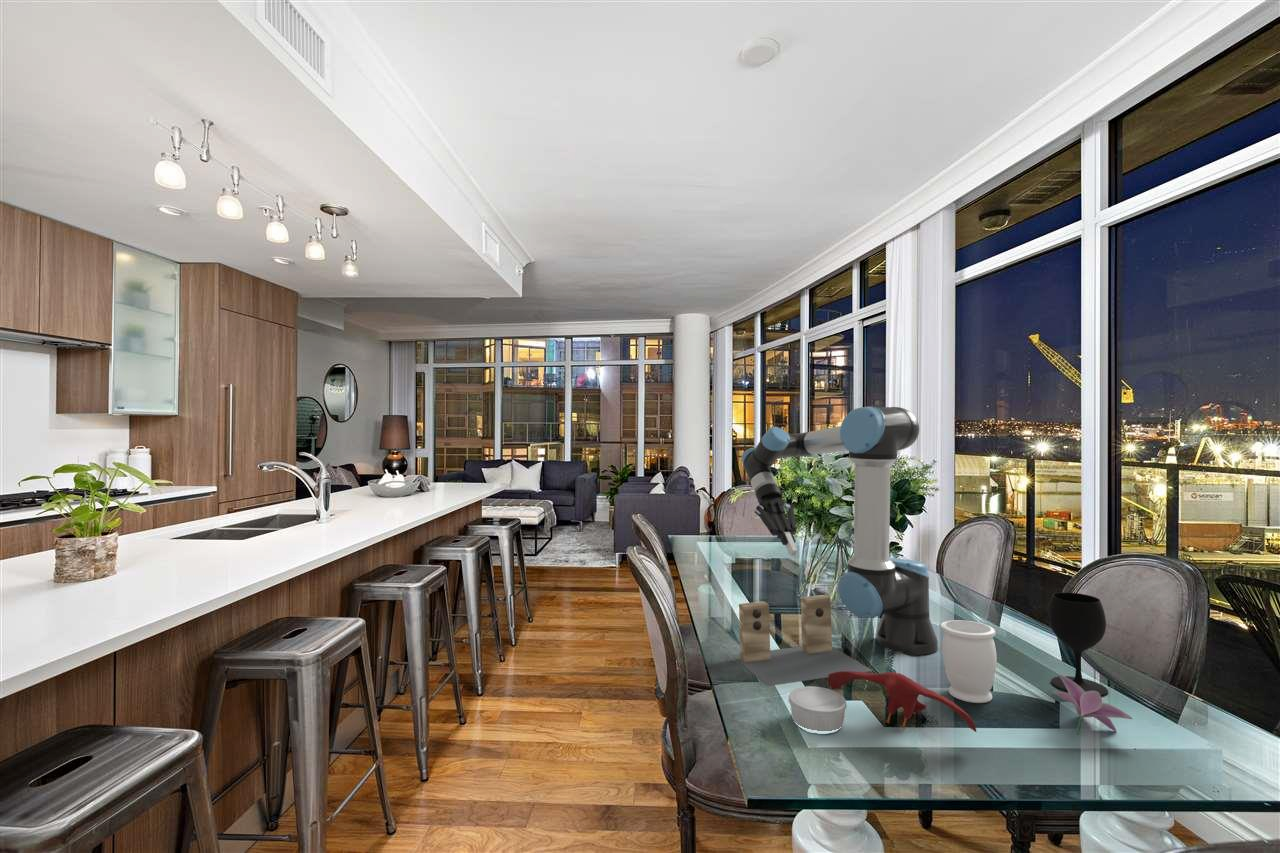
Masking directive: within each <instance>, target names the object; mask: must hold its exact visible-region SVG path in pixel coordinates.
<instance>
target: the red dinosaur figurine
mask: <svg viewBox="0 0 1280 853" xmlns="http://www.w3.org/2000/svg"><path fill="white" fill-rule="evenodd" d="M855 680H865V681H870V682H872V683H875V684H878V685H881V686H883V687H884V689H885V691H886V692H885V693H886V695H887V696H888V704H887V712H888V717H887V720H883V721H884V722H886V723H887V724H888V725H890V724H891V722H890V720H891V716H892V715H894V714H895V713H896V712H897V710H898V709H900V708H902V709H903V717H904V720H903V723H902V725H900V727H901V728H902V729H906V723H907V720H909V719H911V717H912V714H917V715H921V713H920V712H923V710H925V711H926V709H927V708H928V707H927V705H925V704H923V703H922V702H920V701H919V700H918V697H919V696H922V697H924V698H928V699H931V700H933V701H937V702H939V703H941V704H943V705H945V706H946V707H948V708H950V709H951V711H954V712H955V713H956V714H957V715H958V716H960V717H961V719H962V720H963V721H965V722H966V724H967V726H968V728H969V729H971V730H972V731H973V732H975V733H977V731H978V730H977V727H976V725H975V722H974V721H973V719H972V718H971V716H969V714H968V713H967V712H966V711H965V710H963V709H962V708H961V707H960V706H959V705H957V704H956V703H955V702H953V701H951V700H950V699H948V698H947V697H946V696H943V695H942V694H939V693H937V692H935V691H934V690H932V689H929V688H928V687H927V688H926V687H923V685H921V684H920V683H917V682H916V681H914V680H913V679H911V678H910V677H907V676H906V675H904V674H903V673H900V672H894V671H893V672H891V671H889V672H882V673H880V672H879V673H875V672H874V673H873V672H872V673H870V672H857V671H856V672H854V671H839V672H834V673H831V674H829V675H828V677H827V682H828V684H829V687H830V689H831V690H842V688H843V687H842V686H848V684H849V682H851V683H853V682H855Z"/></svg>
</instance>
